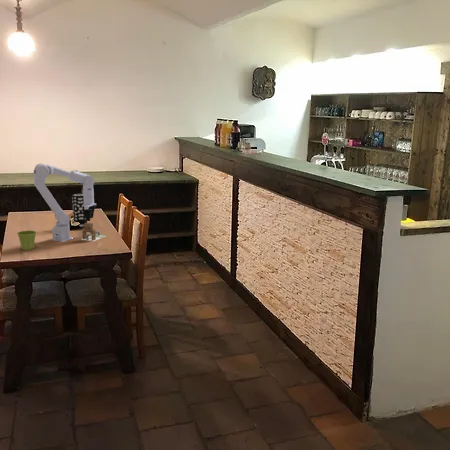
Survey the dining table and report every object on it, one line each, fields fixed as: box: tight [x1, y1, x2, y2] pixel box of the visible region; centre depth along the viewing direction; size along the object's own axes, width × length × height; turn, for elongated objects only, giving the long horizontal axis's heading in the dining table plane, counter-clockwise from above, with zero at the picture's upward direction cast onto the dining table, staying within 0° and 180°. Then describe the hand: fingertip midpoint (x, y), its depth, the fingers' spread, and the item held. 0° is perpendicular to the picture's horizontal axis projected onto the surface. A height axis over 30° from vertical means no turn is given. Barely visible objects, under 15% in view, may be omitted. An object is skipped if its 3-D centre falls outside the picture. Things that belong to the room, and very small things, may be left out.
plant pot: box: [16, 230, 37, 251], centre depth 270 cm, size 9×9×9 cm
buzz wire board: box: [80, 230, 104, 242], centre depth 293 cm, size 13×9×5 cm
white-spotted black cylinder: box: [71, 193, 88, 229], centre depth 319 cm, size 8×8×20 cm
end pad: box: [90, 234, 106, 239], centre depth 297 cm, size 4×8×1 cm, turn 70°
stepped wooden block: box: [81, 222, 97, 241], centre depth 289 cm, size 2×7×9 cm, turn 70°
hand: (89, 219), depth 295 cm, fingers open, 7 cm apart
